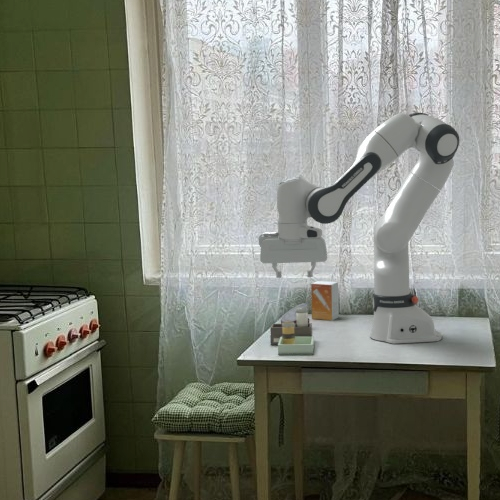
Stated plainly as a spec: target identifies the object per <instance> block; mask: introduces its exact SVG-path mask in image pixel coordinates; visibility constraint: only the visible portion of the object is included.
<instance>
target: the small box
mask: <svg viewBox="0 0 500 500" xmlns="http://www.w3.org/2000/svg"><path fill="white" fill-rule="evenodd" d="M310 288H311V290H310V292H311V294H310V295H311V296H310V297H311V319H313V320H323V321H334V320H336V319H338V318H339V317H340V316H339V315H340V310H339V305H340V304H339V303H340V302H339V282H338V281H326V280H317V281H315V282H314V281H313V282H311V286H310Z"/></svg>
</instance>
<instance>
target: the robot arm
mask: <svg viewBox="0 0 500 500" xmlns="http://www.w3.org/2000/svg"><path fill="white" fill-rule="evenodd" d="M459 146H460V135H459V133H458V131H457V130H456V129H455V128H454V127H453V126H451V125H450V124H448V123H446V122H445V121H443V119H442V120H441V119H440V118H438V117H433V116H431V115H429V114H427V113H425V112H424V113H423V112H414V113H410V114H406V113H404V112H399V113H396V114H395V115H393V116H391V117H389V118H388V119H386V120H385V121H383V122H382V123H381V124H379V125H378V126H377V127H376V128H375V129H373V131H371V132H370V133H369V134H368V135H367V136H366V137H365V139H363V141H362V142H361V144H360V145H359V146H358V148H357V150H356V151H357V153H356V157H355V160H354V162H353V164H352V165H351V167H350V168H348V169H347V171H345V172H344V173H343V174H342V175H341V176H340V177H339V178H338V179H337V180H336V181H335V182H334V183H333V184H331V185H329V186H327V187H323V186H320V185H317V184H314V183H312V182H310V181H307V180H306V179H304V178H303V177H302V176H296V177H290V178H286V179H283V180H281V181H280V182H279V183H278V186H277V190H276V208H277V212H278V217H277V232H276V231H275V232H263V233H262V234H260V235H259V236H258V245H259V247H260V254H259V255H260V256H259V258H260V262H261V263H262V264H271V267H272V269H273V270H274V272H275V275H276V277H275V278H276V279H281V278H282V271H280V270H279V269H278V268H277V267H278V264H290V263H291V264H293V263H295V264H296V263H310V266H312V267H311V268H310V270H307V278H312V277H313V276H314V275H313V271H314V269H315V267H316V266H317V263H322V262H323V263H324V262H326V261H327V260H328V252H327V244H326V241H325V239H324V237H322V236H323V230H322V229H321V228H318V227H315V226H312V225H308V219H309V218H312V219H313V220H314V221H315V222H317V223H320V224H323V225H327V224H332V223H334V222H336V221H337V220H338V219H339V218H341V216H342V214H343V212H344V210H345V207H346V205H347V204H348V202H349V200H350V199H351V198H352V197H353V196H354V195H355V194H356V193H357V192H358V191H359V190H360V189H361V188H363V186H364V185H365V184H367V182H368V181H369V180H370V179H372V178H373V177H374V176H376V175H377V174H379V173H381V172H382V171H383V170H385V169H386V168H387V167H389V166H391V164H393V163H394V162H396V161H397V159H399V157H401V155H403V154H404V153H405V152H406V151H407V150H408V149H410V148H411V149H412V148H413V149H414V150H417V151H418V152H419V157H418V160H417V162H416V163H415V165H414V166H413V167H412V169H411V170H410V171H409V173H408V175H407V176H406V178H405V179H404V181H403V182H402V184H401V185H400V186H399V188H398V190H397V191H396V193H395V195H394V196H393V198H392V200H391V201H390V203H389V205H388V207H387V208H386V210H385V211H384V213H383V215H382V216H381V217H379V218H378V219H377V221H375V224H374V226H373V234H372V235H373V277H374V279H373V283H374V287H373V288H374V290H373V293H372V311H373V319H372V327H371V332H370V335H369V338H371V339H373V340H375V341H379V342H386V343H389V344H395V345H396V344H411V343H426V342H428V343H429V342H439V341H441V340H442V339H443V337H442V336H443V335H442V332H441V331H439V330H438V329H436V328H435V323H434V321H433V317H432V316H431V315H430V314H429V313H428V312H426V311H425V310H423V309H422V308H421V307H419V306H418V305H417V304H418V302H419V298H418V296H416V295H414V293H411V292H410V259H409V258H410V255H409V253H410V251H409V242H410V240H411V239H412V237H413V236H414V234H415V232H416V231H417V229H418V228H419V226H420V224H421V223H422V220H423V219H424V217H425V215H426V213H427V212H428V210H429V209H430V207H431V206H432V204H433V203H434V201H435V200H436V198H437V197H438V195H439V193H441V190H442V189H443V188H444V186H445V185H446V182H447V181H448V178H450V177H449V176H450V174H451V172H452V170H453V167H454V164H455V163H454V159H453V158H454V157H455V155H456V152H457V151H458V149H459Z"/></svg>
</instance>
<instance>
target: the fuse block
mask: <svg viewBox="0 0 500 500" xmlns="http://www.w3.org/2000/svg"><path fill="white" fill-rule="evenodd" d="M269 329H270V337H269V338H270V340H269V341H270V346H278V343H279V340H280V337H283V334H282V333H283V331H282V324H281V323H271V325H270V328H269ZM294 333H295V337H313V324H312V323H310V322H309V323H308V327H297V323H294Z"/></svg>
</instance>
